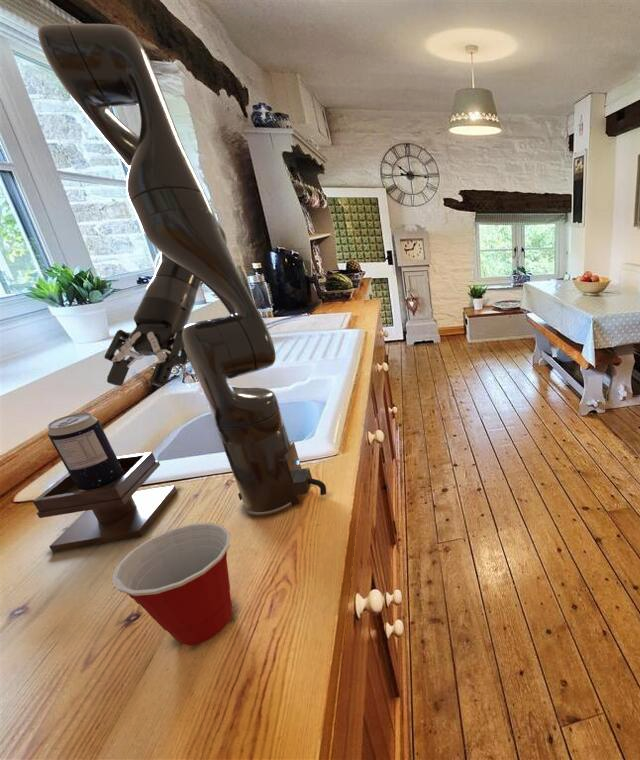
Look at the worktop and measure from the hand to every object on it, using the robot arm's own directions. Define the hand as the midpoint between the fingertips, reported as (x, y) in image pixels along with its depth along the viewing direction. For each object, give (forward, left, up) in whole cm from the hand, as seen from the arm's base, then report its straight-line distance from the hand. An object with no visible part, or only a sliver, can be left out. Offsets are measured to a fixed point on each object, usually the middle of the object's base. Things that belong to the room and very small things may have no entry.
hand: (135, 384), depth 73 cm
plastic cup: (-19, +37, -20) cm, 46 cm away
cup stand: (+4, +11, -20) cm, 23 cm away
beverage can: (+4, +10, -13) cm, 17 cm away
